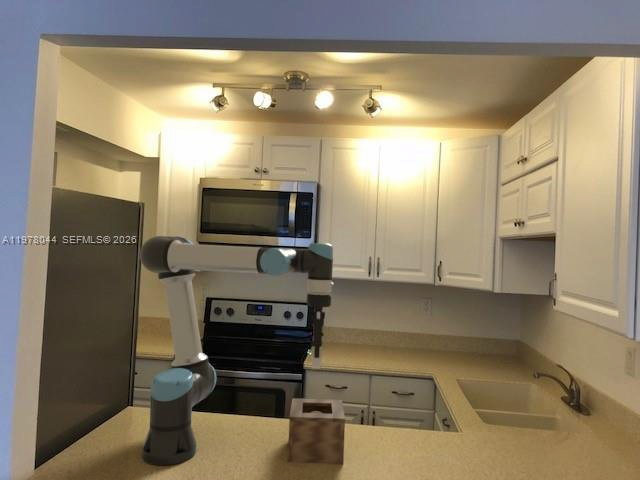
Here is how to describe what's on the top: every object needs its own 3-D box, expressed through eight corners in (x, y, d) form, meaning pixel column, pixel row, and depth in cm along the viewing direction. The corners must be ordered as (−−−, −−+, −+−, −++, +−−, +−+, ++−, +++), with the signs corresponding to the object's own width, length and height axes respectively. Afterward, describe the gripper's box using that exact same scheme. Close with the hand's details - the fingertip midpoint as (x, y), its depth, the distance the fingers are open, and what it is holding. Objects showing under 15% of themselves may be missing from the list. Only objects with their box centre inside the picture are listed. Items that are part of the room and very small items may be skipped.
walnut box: (287, 462, 130) (289, 416, 131) (291, 438, 146) (292, 398, 147) (343, 464, 131) (344, 418, 131) (340, 440, 147) (341, 399, 147)
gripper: (332, 298, 127) (329, 374, 127) (330, 289, 152) (327, 353, 152) (305, 297, 127) (302, 373, 127) (308, 288, 152) (305, 352, 152)
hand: (316, 362), depth 139 cm, fingers open, 13 cm apart
